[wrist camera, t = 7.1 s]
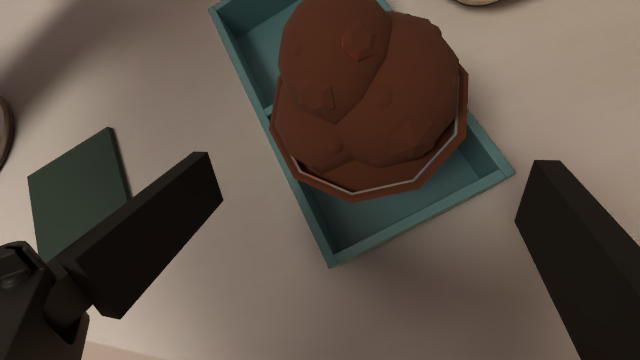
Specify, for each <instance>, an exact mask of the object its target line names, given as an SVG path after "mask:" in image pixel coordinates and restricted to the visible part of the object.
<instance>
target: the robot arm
mask: <svg viewBox="0 0 640 360" xmlns="http://www.w3.org/2000/svg"><path fill="white" fill-rule="evenodd" d="M12 134H13V116H12V112H11V109H10V107H9V105H8V104H7V102H6V101H5V100H4V99H3V98H1V97H0V167H1V165H2V163H3V161H4V159H5V157H6V155H7V152H8V150H9V147H10V144H11V140H12ZM222 202H223V197H222V194H221V191H220V188H219V185H218V182H217V179H216V176H215V173H214V170H213V167H212V164H211V161H210V158H209V155H208V152H192V153H191V154H190V155H188V156H187V157H186V158H184V159H183V160H182V161H180V162H179V163H178V164H176V165H175V166H174V167H173V168H171V169H170V170H169V171H167V172H166V173H165V174H163V175H162V176H161V177H159V178H158V179H157V180H155V181H154V182H153V183H151V184H150V185H149V186H147V187H146V188H145V189H143V190H142V191H141V192H140V193H138V194H137V195H136V196H134V197H133V198H132V199H130V200H129V201H128V202H126V203H125V204H124V205H122V206H121V207H120V208H118V209H117V210H116V211H114V212H113V213H112V214H110V215H109V216H108V217H106V218H105V219H104V220H102V221H101V222H100V223H99V224H97V225H96V226H94V227H93V228H92V229H90V230H89V231H88V232H87V233H85V234H84V235H82V236H81V237H80V238H78V239H77V240H76V241H74V242H73V243H72V244H71V245H69V246H68V247H67V248H65V249H64V250H63V251H61V252H60V253H59V254H57V255H56V256H55V257H53V258H52V259H51V260H49V261H48V262H46V263H45V262H44V261H43V260H42V259H41V258H40V257H39V255H38V254H37V253H36V252H35V251H34V249H33V248H32V247H31V246H30V245H29V244H28V243H27V242H26V241H16V242H11V243H7V244H5V245H2V246H0V360H81V358H82V353H83V349H84V344H85V340H86V335H87V330H88V326H89V321H90V319H89V315H88V314H87V312H86V311H87V310H88V309H89V308H90V307H91V306H92V305H94V306H95V308H96V309H97V310H98V311H99V313H100V314H101V315H102V316H105V317H110V318H115V319H121V318H122V317H123V316H124V315H125V314H126V312H127V311H128V310H129V309H130V308H131V307H132V305H133V304H134V303H135V302H136V301H137V300H138V299H139V297H140V296H141V295H142V294H143V293H144V292H145V290H146V289H147V288H148V287H149V286H150V285H151V284H152V282H153V281H154V280H155V279H156V278H157V277H158V275H159V274H160V273H161V272H162V271H163V270H164V269H165V267H166V266H167V265H168V264H169V263H170V262H171V260H172V259H173V258H174V257H175V256H176V255H177V254H178V252H179V251H180V250H181V249H182V248H183V247H184V245H185V244H186V243H187V242H188V241H189V240H190V239H191V237H192V236H193V235H194V234H195V233H196V232H197V230H198V229H199V228H200V227H201V226H202V225H203V224H204V222H205V221H206V220H207V219H208V218H209V217H210V215H211V214H212V213H213V212H214V211H215V210H216V209H217V207H218V206H219V205H220V204H221V203H222ZM514 221H515V224H516V226H517V228H518V230H519V232H520V234H521V236H522V238H523V240H524V242H525V244H526V246H527V248H528V251H529V253H530V255H531V257H532V259H533V261H534V263H535V265H536V267H537V269H538V271H539V273H540V275H541V278H542V280H543V282H544V284H545V286H546V288H547V290H548V292H549V294H550V296H551V298H552V300H553V302H554V305H555V307H556V309H557V311H558V313H559V315H560V317H561V319H562V321H563V323H564V325H565V327H566V330H567V332H568V334H569V336H570V338H571V340H572V342H573V344H574V346H575V348H576V350H577V352H578V354H579V357H580V359H581V360H640V247H639V245H638V244H637V243H636V242H635V241H634V240H633V239H632V238H631V237H630V236H629V235H628V234H627V232H626V231H625V230H624V229H623V228H622V227H621V226H620V225H619V224H618V223H617V222H616V221H615V219H614V218H613V217H612V216H611V215H610V214H609V213H608V212H607V211H606V210H605V209H604V208H603V207H602V205H601V204H600V203H599V202H598V201H597V200H596V199H595V198H594V197H593V196H592V195H591V194H590V192H589V191H588V190H587V189H586V188H585V187H584V186H583V185H582V184H581V183H580V182H579V181H578V179H577V178H576V177H575V176H574V175H573V174H572V173H571V172H570V171H569V170H568V169H567V168H566V167H565V165H564V164H563V163H562V162H561V161H558V160H534V162H533V165H532V168H531V171H530V175H529V178H528V181H527V184H526V187H525V190H524V193H523V196H522V199H521V202H520V205H519V208H518V211H517V214H516V217H515V220H514Z"/></svg>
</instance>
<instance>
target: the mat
mask: <svg viewBox="0 0 640 360" xmlns="http://www.w3.org/2000/svg"><path fill="white" fill-rule="evenodd" d="M27 179H28V186H29V193H30V200H31V207H32V214H33V221H34V228H35V234H36V241H37V248H38V255H39V257H40V258H41V259H42V260H43V261H44V262H45V263H46V262H48V261H49V260H51V259H52V258H53V257H55V256H56V255H57V254H59V253H60V252H61V251H63V250H64V249H65V248H67V247H68V246H69V245H71V244H72V243H73V242H74V241H76V240H77V239H78V238H80V237H81V236H82V235H84V234H85V233H87V232H88V231H89V230H90V229H92V228H93V227H94V226H96V225H97V224H99V223H100V222H101V221H102V220H104V219H105V218H106V217H108V216H109V215H110V214H112V213H113V212H114V211H116V210H117V209H118V208H120V207H121V206H122V205H124V204H125V203H126V202H128V201H129V200H130V199H131V197H130V193H129V190H128V186H127V182H126V178H125V175H124V171H123V167H122V163H121V160H120V156H119V152H118V148H117V144H116V141H115V137H114V133H113V129H112V128H110V127H106V128H105V129H103V130H101V131H100V132H98V133H97V134H95V135H93V136H92V137H90V138H89V139H87V140H85V141H84V142H82V143H81V144H79V145H77V146H76V147H74V148H73V149H71V150H69V151H68V152H66V153H65V154H63V155H61V156H60V157H58V158H57V159H55V160H53V161H52V162H50V163H49V164H47V165H45V166H44V167H42V168H41V169H39V170H37V171H36V172H34V173H33V174H31V175H29V176H28V177H27Z"/></svg>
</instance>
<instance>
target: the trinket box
mask: <svg viewBox="0 0 640 360" xmlns="http://www.w3.org/2000/svg"><path fill="white" fill-rule="evenodd" d="M457 1H459V2H461V3H464V4H468V5H486V4H490V3H493V2H496V1H498V0H457Z"/></svg>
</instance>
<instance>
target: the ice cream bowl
mask: <svg viewBox="0 0 640 360" xmlns="http://www.w3.org/2000/svg"><path fill="white" fill-rule="evenodd" d="M278 68H279V71H280V75H279V76H278V80H277V86H276V91H275V97H274V103H273V108H272V114H271V119H270V125H269V131H270V133H271V135H272V137H273V139H274V141H275V143H276V145H277V147H278V149H279V150H280V152H281V154H282V156H283V158H284V160H285V162H286V164H287V166H288V168H289V170H290V172H291V174H292V176H293V178H294V179H297V180H299V181H301V182H303V183H306V184H308V185H310V186H313V187H315V188H317V189H319V190H322V191H324V192H326V193H328V194H331V195H333V196H335V197H337V198H340V199H342V200H344V201H346V202H349V203H355V202H360V201H364V200H369V199H374V198H378V197H383V196H388V195H392V194H397V193H402V192H406V191H411V190H416V189H420V187H421V186H422V185H423V184H424V183H425V182H426V181H427V180H428V179H429V178H430V176H431V175H432V174H433V173H434V172H435V171H436V170H437V169H438V168H439V167H440V165H441V164H442V163H443V162H444V161H445V160H446V159H447V158H448V157H449V155H450V154H451V153H452V152H453V151H454V150H455V149H456V148H457V147H458V146H459V144H460V143H461V142H462V141H463V140H464V139H465V138H466V130H467V102H468V73H467V72H466V71H465V70H464V68H463V67H462V66H461V65H460V64H459V59H458V58H457V56H456V55H455V53H454V52H453V50H452V49H451V48H450V46H449V45H448V44H447V43H446V41H445V40H444V39H443V38H442V33H441V31H440V29H439V27H437V26H435V25H433V24H431V22H430V21H429V20H428V19H424V18H420V17H416V16H412V15H410V14H403V13H399V12H394V11H385V10H384V9H383V8H382V7H381V5H380V4H379V3H378V2H377V1H376V0H303V1H302V2H301V3H299V4H298V5H297V6H296V8H295V10H294V11H293V13H292V14H291V16H290V18H289V19H288V21H287V22H286V24H285V25H284V27H283V33H282V38H281V43H280V49H279V57H278Z"/></svg>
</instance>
